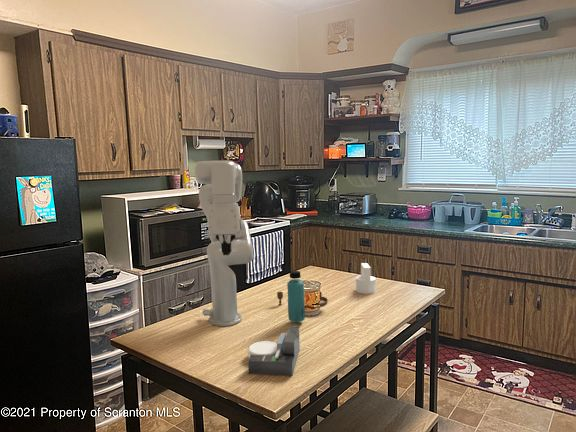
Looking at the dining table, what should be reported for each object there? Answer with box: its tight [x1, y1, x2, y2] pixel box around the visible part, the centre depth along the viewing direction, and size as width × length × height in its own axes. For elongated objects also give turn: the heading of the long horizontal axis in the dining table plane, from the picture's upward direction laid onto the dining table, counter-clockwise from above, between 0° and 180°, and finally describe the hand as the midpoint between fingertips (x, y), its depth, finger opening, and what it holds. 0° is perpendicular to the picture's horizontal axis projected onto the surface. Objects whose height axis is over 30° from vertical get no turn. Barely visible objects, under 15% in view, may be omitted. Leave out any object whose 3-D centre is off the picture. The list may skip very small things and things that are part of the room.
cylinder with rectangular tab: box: [355, 262, 377, 295], centre depth 200 cm, size 9×9×12 cm
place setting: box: [276, 291, 329, 308], centre depth 188 cm, size 18×20×6 cm
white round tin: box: [247, 340, 277, 359], centre depth 137 cm, size 10×10×4 cm
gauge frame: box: [247, 325, 301, 377], centre depth 134 cm, size 13×17×8 cm
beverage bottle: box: [286, 270, 306, 323], centre depth 164 cm, size 6×7×20 cm
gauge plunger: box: [275, 332, 287, 358], centre depth 133 cm, size 2×14×6 cm, turn 171°
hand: (226, 254), depth 144 cm, fingers closed
